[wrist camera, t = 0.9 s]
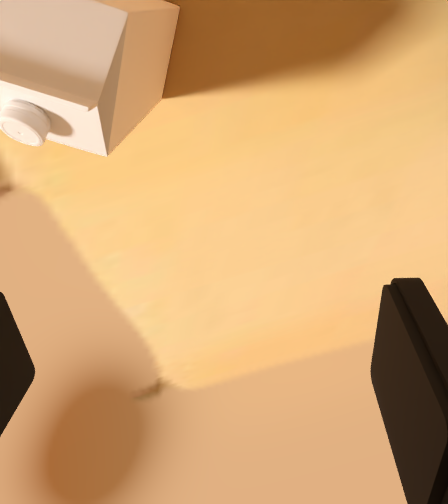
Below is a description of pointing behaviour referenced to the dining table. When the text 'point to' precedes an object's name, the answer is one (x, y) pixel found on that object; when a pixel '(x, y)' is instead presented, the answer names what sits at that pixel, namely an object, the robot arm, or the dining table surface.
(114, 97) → the milk carton
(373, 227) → the dining table surface
